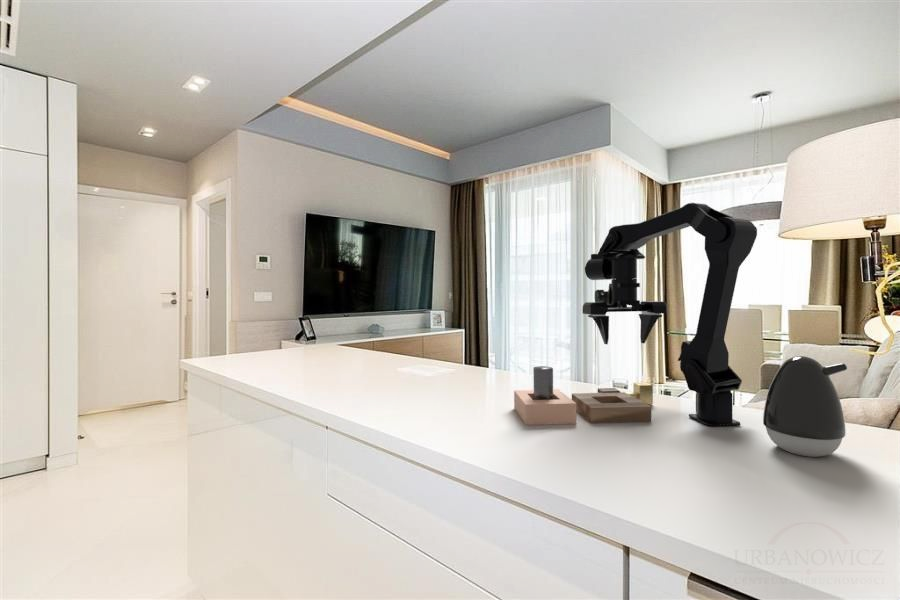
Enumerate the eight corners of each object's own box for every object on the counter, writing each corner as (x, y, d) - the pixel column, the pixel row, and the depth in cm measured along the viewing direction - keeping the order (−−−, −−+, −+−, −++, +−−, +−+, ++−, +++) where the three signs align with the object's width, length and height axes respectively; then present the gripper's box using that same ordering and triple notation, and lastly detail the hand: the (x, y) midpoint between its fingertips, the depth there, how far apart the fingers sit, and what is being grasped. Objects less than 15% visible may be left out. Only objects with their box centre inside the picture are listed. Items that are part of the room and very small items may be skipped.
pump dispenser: (855, 469, 62) (855, 363, 62) (765, 455, 67) (765, 358, 67) (838, 446, 71) (839, 354, 70) (760, 436, 76) (760, 350, 76)
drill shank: (555, 417, 89) (555, 369, 88) (536, 418, 89) (535, 369, 88) (550, 412, 93) (550, 366, 92) (532, 413, 93) (531, 366, 92)
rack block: (576, 423, 85) (576, 403, 85) (525, 424, 84) (525, 404, 84) (558, 407, 97) (558, 389, 97) (514, 408, 96) (514, 390, 96)
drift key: (652, 404, 97) (652, 385, 97) (604, 405, 97) (604, 386, 97) (646, 400, 100) (646, 382, 100) (599, 401, 100) (599, 383, 100)
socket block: (651, 421, 85) (651, 404, 85) (591, 423, 85) (591, 406, 85) (619, 402, 100) (618, 388, 100) (567, 403, 100) (567, 389, 100)
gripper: (644, 279, 113) (644, 339, 113) (574, 280, 111) (574, 340, 112) (668, 278, 102) (668, 344, 102) (591, 279, 100) (591, 346, 101)
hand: (624, 343), depth 104 cm, fingers open, 9 cm apart
